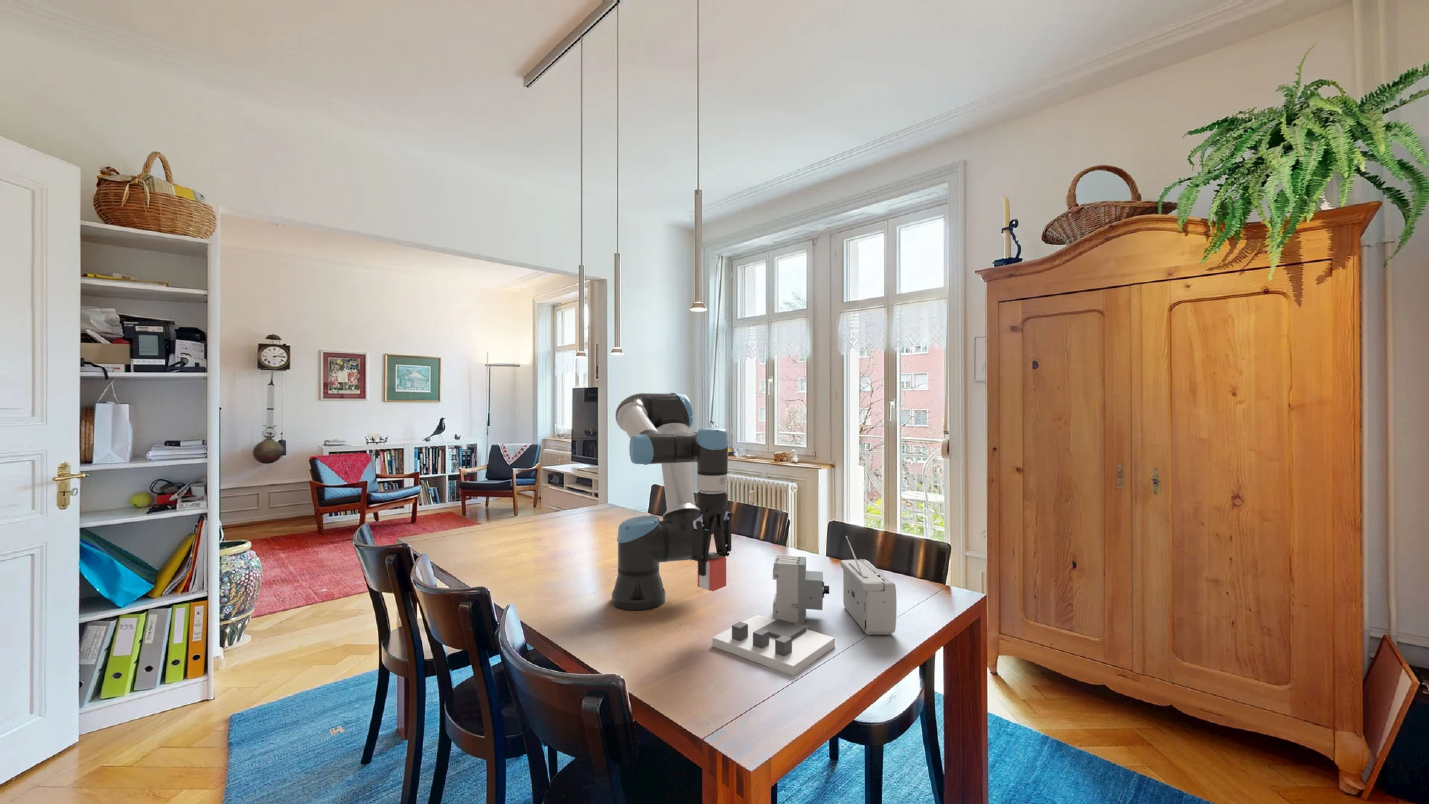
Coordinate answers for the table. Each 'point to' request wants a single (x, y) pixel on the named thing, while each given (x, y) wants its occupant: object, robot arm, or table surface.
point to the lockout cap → (716, 571)
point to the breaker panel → (774, 643)
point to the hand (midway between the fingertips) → (712, 584)
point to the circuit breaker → (796, 589)
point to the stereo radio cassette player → (869, 596)
